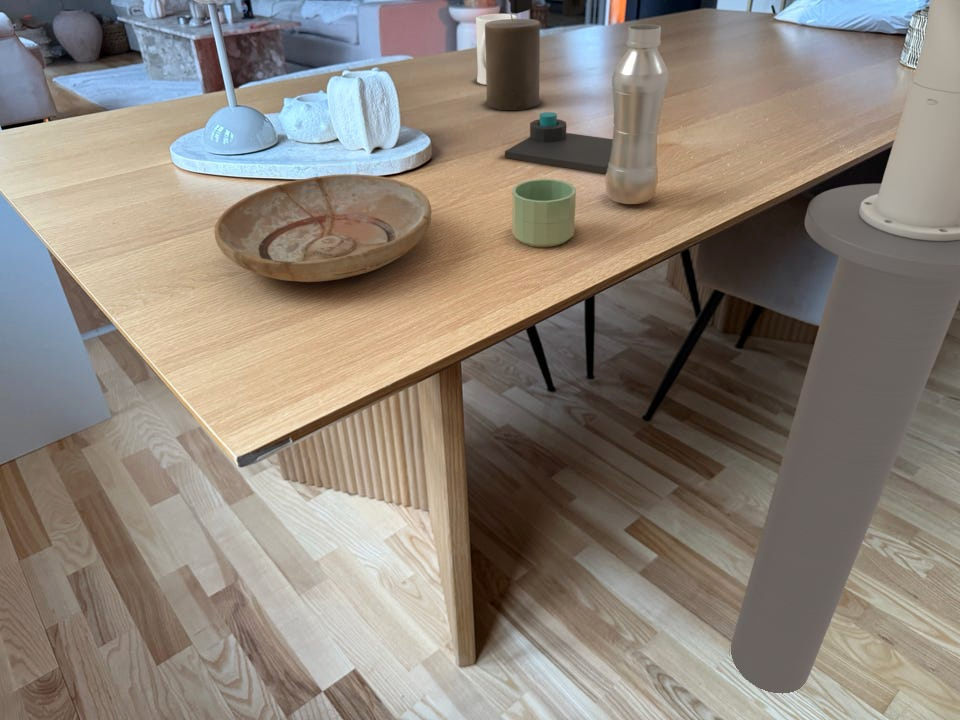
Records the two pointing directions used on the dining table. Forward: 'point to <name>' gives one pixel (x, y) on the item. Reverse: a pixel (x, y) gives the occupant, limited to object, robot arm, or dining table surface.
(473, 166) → the dining table surface
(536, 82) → the pillar candle
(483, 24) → the mug
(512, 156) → the scale
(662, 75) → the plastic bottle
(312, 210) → the ceramic bowl
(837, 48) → the dining table surface
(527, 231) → the green cup
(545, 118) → the button
